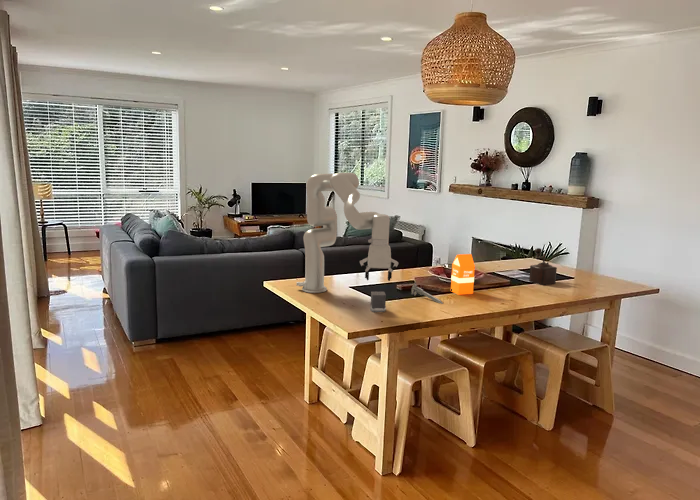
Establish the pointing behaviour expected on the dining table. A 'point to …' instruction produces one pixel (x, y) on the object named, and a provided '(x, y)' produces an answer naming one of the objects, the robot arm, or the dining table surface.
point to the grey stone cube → (378, 299)
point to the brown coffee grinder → (542, 271)
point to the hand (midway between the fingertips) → (378, 279)
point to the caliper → (423, 293)
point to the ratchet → (377, 309)
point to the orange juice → (463, 274)
